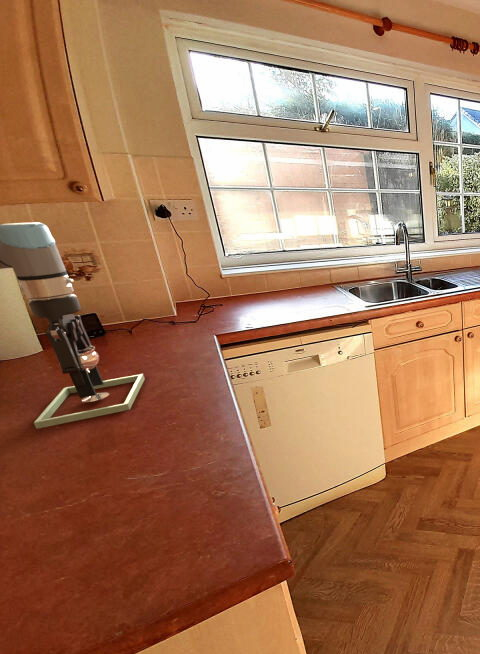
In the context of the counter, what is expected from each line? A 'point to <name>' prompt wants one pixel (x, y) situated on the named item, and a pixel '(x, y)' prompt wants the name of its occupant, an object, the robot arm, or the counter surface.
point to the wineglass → (88, 363)
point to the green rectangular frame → (46, 421)
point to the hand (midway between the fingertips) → (92, 390)
